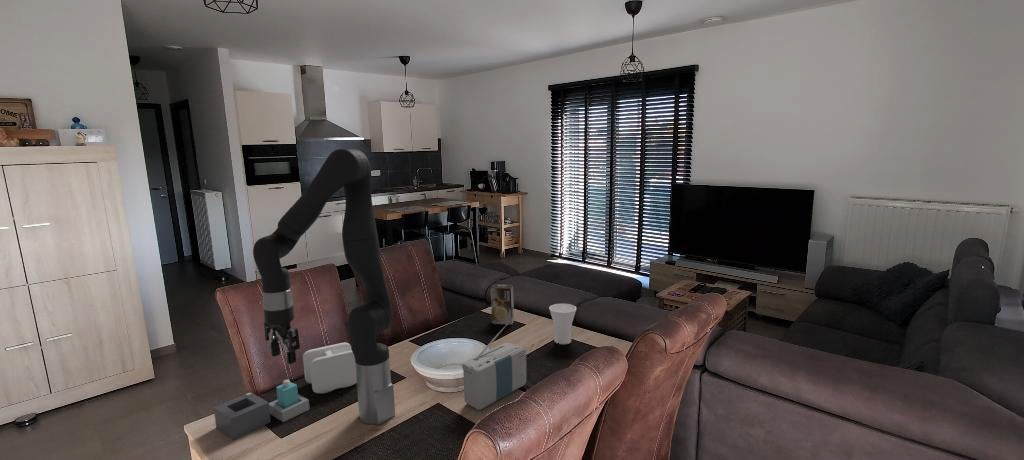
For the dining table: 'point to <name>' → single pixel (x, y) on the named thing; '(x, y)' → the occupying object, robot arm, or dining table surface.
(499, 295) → the coffee box
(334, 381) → the cable organizer
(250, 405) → the port
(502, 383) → the stereo radio cassette player
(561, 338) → the cup
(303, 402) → the grey square hollow frame
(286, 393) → the plug
